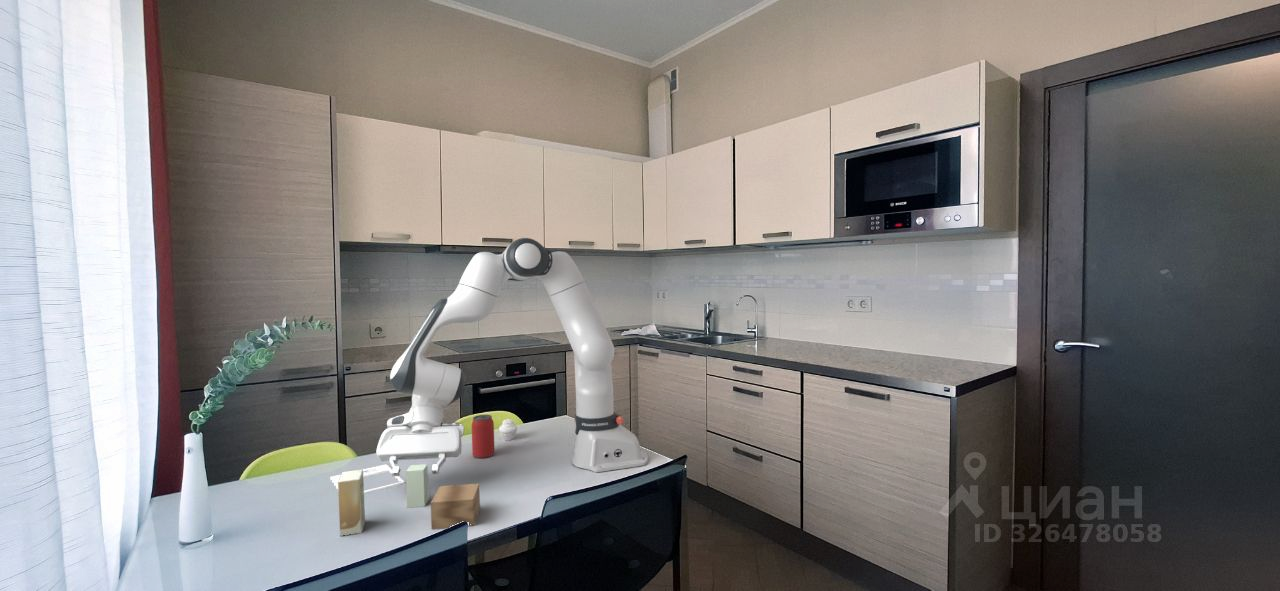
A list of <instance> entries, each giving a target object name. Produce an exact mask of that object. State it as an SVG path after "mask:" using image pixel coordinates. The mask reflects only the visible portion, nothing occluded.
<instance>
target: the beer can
mask: <svg viewBox="0 0 1280 591" xmlns="http://www.w3.org/2000/svg"><path fill="white" fill-rule="evenodd" d="M471 444H472V445H471V450H472V451H471V452H472V457H474V458H475V459H487V458H490V457H492V456H493V455H494V454H495V451H496V450H495V422H494V420H493V416H492V415H490V414H479V415H475V416H474V417H473V418H472V422H471ZM486 457H487V458H486Z"/></svg>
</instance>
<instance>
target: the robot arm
mask: <svg viewBox="0 0 1280 591" xmlns="http://www.w3.org/2000/svg"><path fill="white" fill-rule="evenodd" d="M533 278H537V279H538V280H539V281H541V283H542V284H543V285H544V287H545V289H546V292H547V294H548V296H549V299H550V301H551V303H552V306H553V308H554V310H555V312H556V314H557V316H558V319H559V322H560V323H561V326H562V328H563V330H564V332H565V335H566V337H567V340H568V341H569V345H570V346H571V349H572V351H573V357H574V360H573V361H574V379H575V380H574V382H575V414H574V419H573V420H574V433H575V443H574V444H575V445H574V450H573V454H572V460H571V463H572V465H573V466H574V467H578V468H581V469H585V470H589V471H591V472H594V473H602V472H608V471H616V470H623V469H629V468H636V467H642V466H645V465H646V464H648V462H649V456H648V453H647V452H646V450H644V449H642V448H641V445H640V442H639V439H638V437H637V436H636V434H634V433H633V432H632V431H630V430H629V429H627V428H626V427H624V426H623V424H624V419H623V416H621V415H620V414H619V413H618V411H616V412H615V411H614V384H613V374H612V361H614V356H615V346H614V343H613V341H612V339H611V337H610V334H609V333H608V330H607V328H606V326H605V323H604V321H603V320H602V317H601V315H600V313H599V310H598V309H597V307H596V304H595V302H594V300H593V298H592V296H591V292H590V291H589V289H588V287H587V284H586V282H585V280H584V277H583V275H582V274H581V271H580V270H579V268H578V266H577V264H576V263H575V261H574V260H573V258H572V257H571V256H570V254H569V253H567V252H566V251H561V250H560V251H553V252H551V251H550V250H549V249H548V248H546V247H545V246H543V245H542V244H541V243H539V242H538V241H537V240H535V239H533V238H530V237H521V238H518V239H515V240H514V241H512V242H511V243H510V244H508V246H507V247H506V248H505V250H504V251H503V252H502V253H500V254H496V253H493V252H490V251H480V252H478V253H476V254H474V255H473V257H472V258H471V259H470V261H469V263H468V264H467V266H466V268H465V269H464V271H463V273H462V275H461V278H460V279H459V282H458V285H457V286H456V288H455V290H454V292H452V293H451V295H449V296H448V297H446V298H441V299H439V300H438V301H437V302H436V303H435V304H434V305H433V307H432V308H431V309H430V311H429V313H428V314H427V315H426V317H425V319H424V320H423V322H422V323H421V325H420V327H419V328H418V329H417V331H416V332H415V334H414V336H413V337H412V339H411V340H410V342H409V344H408V345H407V347H406V348H405V349H404V351H403V352H402V354H401V355H400V356H399V358H398V359H396V361H395V362H394V364H393V365H392V368H391V370H390V374H389V381H390V384H391V385H392V387H393V388H394V389H395V391H396V392H397V393H403V394H409V395H411V407H410V409H409V411H408V412H406V413H404V414H400V415H397V416H394V417H391V418H389V419H388V420H387V422H386V426H387V427H386V428H385V430H384V431H382V433H381V435H380V437H379V440H378V443H377V447H376V450H375V451H376V452H375V454H376V456H377V459H379V460H380V461H381V462H389V463H390V466H391V467H392V468H391V469H392V474H391V476H392V477H394V476H399V477H400V475H401V474H400V473H401V468H400V467H399V466H396V465H397V464H398V462H399V461H409V460H426V459H427V460H429V459H430V460H431V459H438V461H437V463H436V464H432V466H431V467H432V468H431V473H432V474H433V475H439V474H440V470H441V468H442V466H443V465H444V464H445V462H446V460H447V458H458V457H459V456H460V455H461V454H462V437H463V436H464V434H465V426H464V425H463V424H462V423H460V422H457V421H455V422H444V417H445V416H444V409H445V407H446V406H450V405H451V404H453V403H455V402H456V401H458V400H459V399H460V398H461V397H462V395H463V393H464V388H465V387H466V386H465V385H466V375H465V373H464V372H463V369H461V368H459V367H458V366H454V365H451V364H448V363H444V362H440V361H436V360H433V359H429V358H426V357H425V356H424V354H425V353H426V351H427V349H428V347H429V346H430V344H431V342H432V341H433V340H434V338H435V336H436V335H437V333H438V332H439V330H440V329H441V328H443V327H444V326H447V325H451V324H464V323H476V322H480V321H483V320H484V319H487V318H488V317H489V316H490V315H491V314H492V312H493V310H494V308H495V306H496V304H497V301H498V298H499V295H500V294H501V291H502V288H503V287H504V284H505V283H506V282H507V281H517V282H523V281H526V280H530V279H533Z"/></svg>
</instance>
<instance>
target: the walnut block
mask: <svg viewBox="0 0 1280 591" xmlns="http://www.w3.org/2000/svg"><path fill="white" fill-rule="evenodd" d="M480 497H481V496H480V483H469V484H467V483H466V484H457V485H456V484H454V485H441V486H439V487H438V489H437V490H436V492H435V494H434V496H433V498H432V499H431V501H430V521H431V530H440V529H441V530H442V529H449V528H448V527H450V526H452V525H455V524H457V523H460V522H462V521H467V522H469V526H468V527H473V526H472V525H474V526H475V524H476V520H477V518H478V515H479V512H480V509H481V503H480V502H481V501H480V500H481V499H480ZM474 523H475V524H474ZM470 524H471V526H470Z"/></svg>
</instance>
